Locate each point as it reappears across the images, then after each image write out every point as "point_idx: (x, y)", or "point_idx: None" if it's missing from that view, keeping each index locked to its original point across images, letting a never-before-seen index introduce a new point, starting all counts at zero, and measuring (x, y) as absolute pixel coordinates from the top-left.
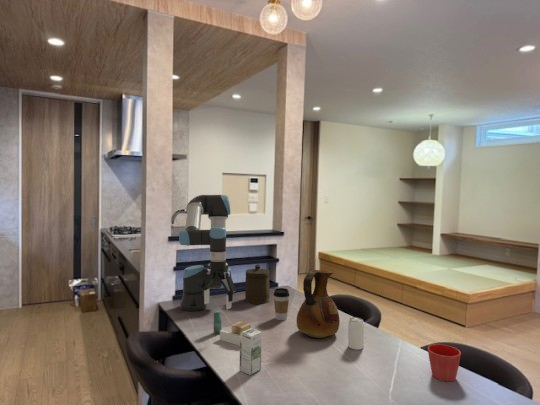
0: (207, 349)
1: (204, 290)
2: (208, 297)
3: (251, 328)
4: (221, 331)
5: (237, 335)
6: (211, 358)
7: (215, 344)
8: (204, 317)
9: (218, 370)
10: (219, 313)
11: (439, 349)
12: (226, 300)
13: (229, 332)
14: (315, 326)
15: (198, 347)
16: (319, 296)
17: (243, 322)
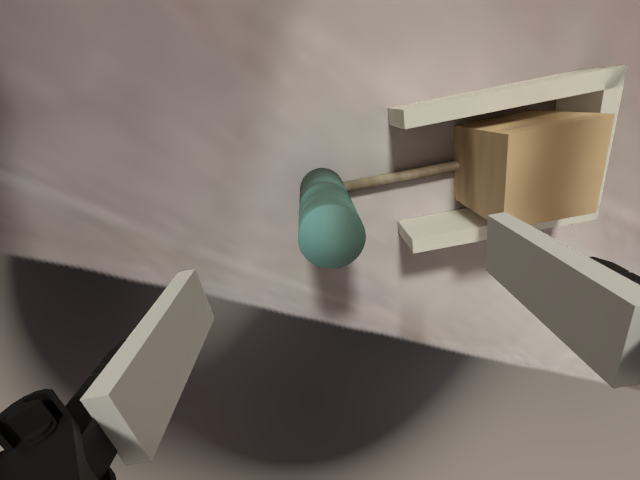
0: (430, 321)
1: (129, 462)
2: (175, 320)
3: (561, 79)
4: (425, 250)
5: (541, 225)
6: (496, 347)
7: (421, 275)
8: (4, 75)
9: (570, 371)
10: (364, 241)
11: None
12: (546, 324)
13: (475, 230)
14: None
15: (387, 334)
16: None
17: (548, 135)
